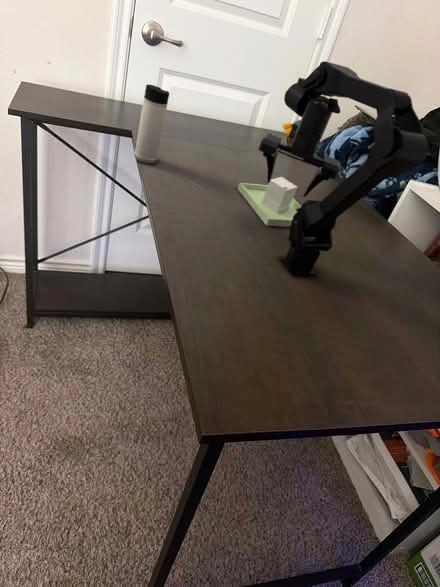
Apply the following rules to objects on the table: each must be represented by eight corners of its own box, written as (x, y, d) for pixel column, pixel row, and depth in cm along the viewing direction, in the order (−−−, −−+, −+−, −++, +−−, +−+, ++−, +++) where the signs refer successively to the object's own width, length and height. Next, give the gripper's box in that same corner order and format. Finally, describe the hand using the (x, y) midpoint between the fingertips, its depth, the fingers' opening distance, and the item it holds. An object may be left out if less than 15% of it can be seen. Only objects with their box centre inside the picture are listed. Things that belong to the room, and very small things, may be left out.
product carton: (272, 199, 125) (281, 176, 121) (288, 209, 123) (298, 186, 118) (260, 203, 121) (269, 179, 116) (277, 213, 118) (287, 190, 114)
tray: (311, 227, 119) (314, 221, 118) (266, 225, 112) (268, 219, 111) (280, 192, 132) (282, 186, 131) (237, 188, 125) (239, 182, 124)
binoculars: (286, 154, 171) (279, 117, 162) (321, 144, 169) (316, 106, 160) (292, 168, 160) (285, 129, 151) (329, 158, 158) (325, 118, 149)
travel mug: (128, 157, 120) (140, 82, 108) (142, 152, 126) (155, 81, 113) (147, 166, 119) (160, 92, 107) (160, 161, 124) (174, 90, 112)
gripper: (352, 131, 100) (324, 191, 109) (278, 103, 101) (256, 164, 110) (352, 145, 91) (321, 208, 101) (270, 113, 92) (247, 179, 101)
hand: (286, 189), depth 103 cm, fingers open, 9 cm apart
